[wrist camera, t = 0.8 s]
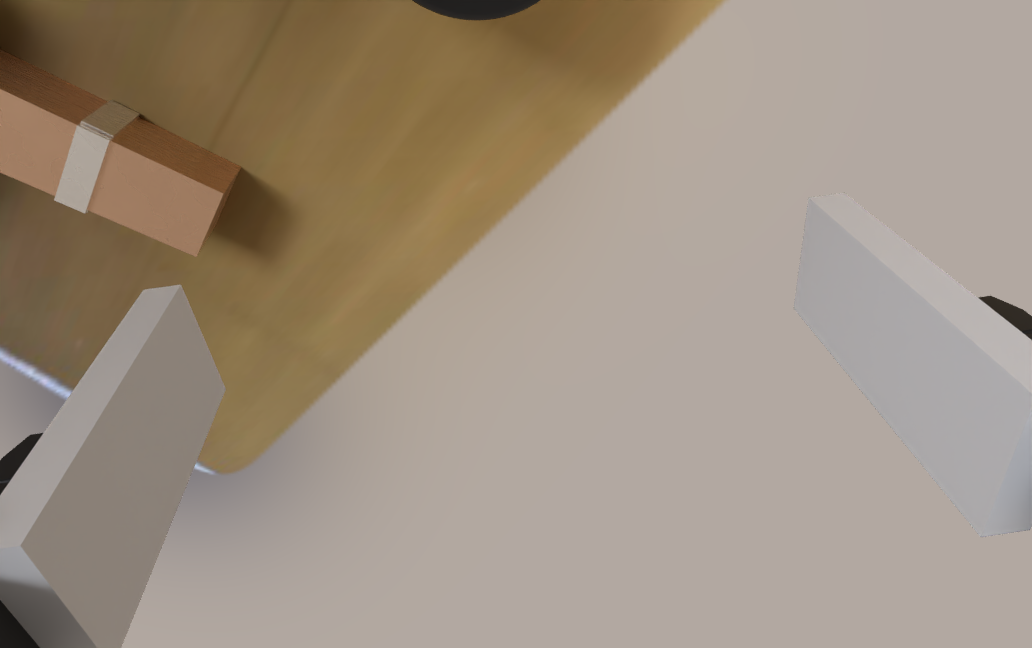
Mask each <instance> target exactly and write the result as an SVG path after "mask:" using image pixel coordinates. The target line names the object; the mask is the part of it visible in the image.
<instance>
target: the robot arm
mask: <svg viewBox="0 0 1032 648" xmlns="http://www.w3.org/2000/svg"><path fill="white" fill-rule="evenodd" d="M794 309H795V310H796V312H797V313H798V314H799V316H800V317H801V318H802V319H803V320H804V322H805V323H806V324H807V325H808V326H809V328H810V329H811V330H812V331H813V333H814V334H815V335H816V336H817V338H818V339H819V340H820V341H821V343H822V344H823V345H824V346H825V347H826V349H827V350H828V351H829V352H830V354H831V355H832V356H833V357H834V358H835V360H836V361H837V362H838V363H839V364H840V366H841V367H842V368H843V369H844V371H845V372H846V373H847V374H848V375H849V377H850V378H851V379H852V380H853V382H854V383H855V384H856V385H857V386H858V388H859V389H860V390H861V391H862V393H863V394H864V395H865V396H866V397H867V399H868V400H869V401H870V402H871V404H872V405H873V406H874V407H875V409H876V410H877V411H878V412H879V413H880V415H881V416H882V417H883V418H884V420H885V421H886V422H887V423H888V424H889V425H890V427H891V428H892V429H893V431H894V432H895V433H896V434H897V435H898V437H899V438H900V439H901V440H902V441H903V443H904V444H905V445H906V446H907V448H908V449H909V450H910V451H911V453H912V454H913V455H914V456H915V457H916V458H917V460H918V461H919V462H920V464H921V465H922V466H923V467H924V468H925V470H926V471H927V472H928V473H929V475H930V476H931V477H932V478H933V479H934V481H935V482H936V483H937V484H938V485H939V487H940V488H941V489H942V490H943V491H944V493H945V494H946V495H947V496H948V498H949V499H950V500H951V501H952V503H953V504H954V505H955V506H956V508H957V509H958V510H959V511H960V512H961V514H962V515H963V516H964V517H965V519H966V520H967V521H968V522H969V523H970V525H972V527H973V528H974V530H975V531H976V532H977V533H978V534H979V536H980V537H986V536H993V535H1000V534H1006V533H1013V532H1020V531H1026V530H1030V529H1031V527H1032V316H1031V315H1029V314H1028V313H1027V312H1025V311H1024V310H1023V309H1020V308H1018V307H1016V306H1013V305H1011V304H1009V303H1006V302H1004V301H1002V300H999V299H997V298H995V297H992V296H986V297H979V298H978V297H976V296H975V295H974V294H972V293H971V292H970V291H969V290H967V289H966V288H965V287H964V286H962V285H961V284H960V283H959V282H957V281H956V280H955V279H953V278H952V277H951V276H949V275H948V274H947V273H946V272H945V271H943V270H942V269H941V268H940V267H938V266H937V265H936V264H934V263H933V262H932V261H930V260H929V259H928V258H927V257H926V256H924V255H923V254H922V253H920V252H919V251H918V250H917V249H915V248H914V247H913V246H911V245H910V244H909V243H908V242H906V241H905V240H904V239H903V238H901V237H900V236H899V235H897V234H896V233H895V232H894V231H893V230H891V229H890V228H889V227H887V226H886V225H885V224H884V223H882V222H881V221H880V220H878V219H877V218H876V217H875V216H873V215H872V214H871V213H870V212H868V211H867V210H866V209H865V208H863V207H862V206H861V205H859V204H858V203H857V202H856V201H854V200H853V199H852V198H851V197H849V196H848V195H847V194H846V193H839V194H831V195H824V196H817V197H810V198H809V199H808V206H807V213H806V221H805V229H804V236H803V243H802V250H801V258H800V265H799V272H798V280H797V287H796V295H795V302H794ZM225 390H226V389H225V386H224V384H223V382H222V379H221V377H220V375H219V372H218V370H217V368H216V365H215V363H214V361H213V358H212V356H211V354H210V351H209V349H208V347H207V344H206V342H205V340H204V337H203V335H202V333H201V330H200V328H199V326H198V323H197V321H196V319H195V316H194V314H193V312H192V309H191V307H190V305H189V302H188V300H187V297H186V295H185V293H184V290H183V288H182V286H181V285H175V286H167V287H160V288H153V289H146V290H143V291H142V293H141V294H140V296H139V297H138V298H137V300H136V301H135V303H134V304H133V306H132V307H131V309H130V310H129V311H128V313H127V314H126V316H125V317H124V319H123V320H122V321H121V323H120V324H119V326H118V327H117V329H116V330H115V331H114V333H113V334H112V336H111V337H110V339H109V340H108V341H107V343H106V344H105V346H104V347H103V349H102V350H101V352H100V353H99V354H98V356H97V357H96V359H95V360H94V362H93V363H92V364H91V366H90V367H89V369H88V370H87V372H86V373H85V374H84V376H83V377H82V379H81V380H80V382H79V383H78V384H77V386H76V387H75V389H74V390H73V392H72V393H71V395H70V396H69V397H68V399H67V400H66V402H65V403H64V405H63V406H62V407H61V409H60V411H59V412H58V413H57V415H56V416H55V418H54V419H53V420H52V422H51V423H50V425H49V426H48V428H47V429H46V431H45V432H44V433H40V434H33V435H30V436H29V437H27V438H26V439H25V440H23V441H22V442H21V443H20V444H19V445H17V446H16V447H15V448H14V449H13V450H11V451H10V452H9V453H8V454H6V455H5V456H4V457H3V458H2V459H1V460H0V648H121V646H122V644H123V641H124V639H125V637H126V634H127V632H128V629H129V627H130V624H131V622H132V619H133V617H134V614H135V612H136V609H137V607H138V605H139V602H140V600H141V597H142V595H143V592H144V590H145V587H146V585H147V582H148V580H149V577H150V575H151V572H152V570H153V567H154V565H155V563H156V560H157V557H158V555H159V553H160V550H161V548H162V545H163V543H164V540H165V538H166V535H167V533H168V530H169V528H170V525H171V523H172V521H173V518H174V516H175V513H176V511H177V508H178V506H179V503H180V501H181V498H182V496H183V493H184V491H185V489H186V486H187V484H188V481H189V479H190V476H191V474H192V471H193V469H194V466H195V464H196V461H197V459H198V456H199V454H200V452H201V449H202V447H203V444H204V442H205V439H206V437H207V434H208V432H209V429H210V427H211V424H212V422H213V419H214V417H215V415H216V412H217V410H218V407H219V405H220V402H221V400H222V397H223V395H224V392H225Z"/></svg>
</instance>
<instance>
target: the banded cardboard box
mask: <svg viewBox="0 0 1032 648" xmlns="http://www.w3.org/2000/svg"><path fill="white" fill-rule="evenodd" d="M240 168H241V167H240V166H238V165H236V164H234V163H232V162H230V161H228V160H226V159H224V158H222V157H220V156H218V155H216V154H214V153H212V152H210V151H208V150H206V149H203V148H201V147H199V146H197V145H195V144H193V143H191V142H189V141H187V140H185V139H183V138H181V137H179V136H177V135H175V134H173V133H171V132H169V131H167V130H165V129H162V128H160V127H158V126H156V125H154V124H152V123H150V122H148V121H146V120H144V119H142V118H140V117H139V113H137V112H135V111H133V110H131V109H129V108H127V107H125V106H122V105H120V104H118V103H116V102H114V101H112V100H110V101H108V102H107V101H105V100H103V99H101V98H99V97H97V96H95V95H93V94H91V93H89V92H87V91H85V90H83V89H80V88H78V87H76V86H74V85H72V84H70V83H68V82H66V81H64V80H62V79H60V78H58V77H56V76H54V75H52V74H50V73H48V72H46V71H44V70H42V69H39V68H37V67H35V66H33V65H31V64H29V63H27V62H25V61H23V60H21V59H19V58H17V57H15V56H13V55H11V54H9V53H7V52H5V51H3V50H1V49H0V173H3V174H5V175H7V176H10V177H12V178H14V179H17V180H19V181H21V182H23V183H26V184H28V185H30V186H33V187H35V188H37V189H40V190H42V191H44V192H47V193H49V194H51V195H54V196H55V199H54V200H55V201H57V202H59V203H62V204H64V205H66V206H69V207H71V208H73V209H76V210H78V211H80V212H83V213H86V212H88V211H91V212H93V213H95V214H98V215H100V216H102V217H105V218H107V219H109V220H112V221H114V222H116V223H119V224H121V225H123V226H126V227H128V228H130V229H133V230H135V231H137V232H139V233H142V234H144V235H146V236H149V237H151V238H153V239H156V240H158V241H160V242H163V243H165V244H167V245H170V246H172V247H174V248H177V249H179V250H181V251H184V252H186V253H188V254H191V255H193V256H195V257H197V255H198V253H199V252H200V250H201V249H202V247H203V245H204V244H205V242H206V241H207V239H208V237H209V236H210V234H211V232H212V231H213V229H214V228H215V226H216V224H217V221H218V219H219V217H220V214H221V212H222V210H223V207H224V205H225V203H226V201H227V198H228V196H229V194H230V191H231V189H232V187H233V185H234V182H235V180H236V178H237V175H238V173H239V171H240Z"/></svg>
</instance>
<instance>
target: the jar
mask: <svg viewBox="0 0 1032 648" xmlns="http://www.w3.org/2000/svg"><path fill="white" fill-rule="evenodd" d="M412 1H414V2H415V3H417V4H419V5H421V6H423V7H424V8H426V9H429V10H431V11H433V12H436V13H438V14H441V15H444V16H448V17H452V18H457V19H464V20H490V19H496V18H501V17H505V16H509V15H512V14H515V13H518V12H520V11H522V10H524V9H527V8H528V7H530V6H532V5H534V4H536V3H537V2H539V1H540V0H412Z"/></svg>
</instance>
